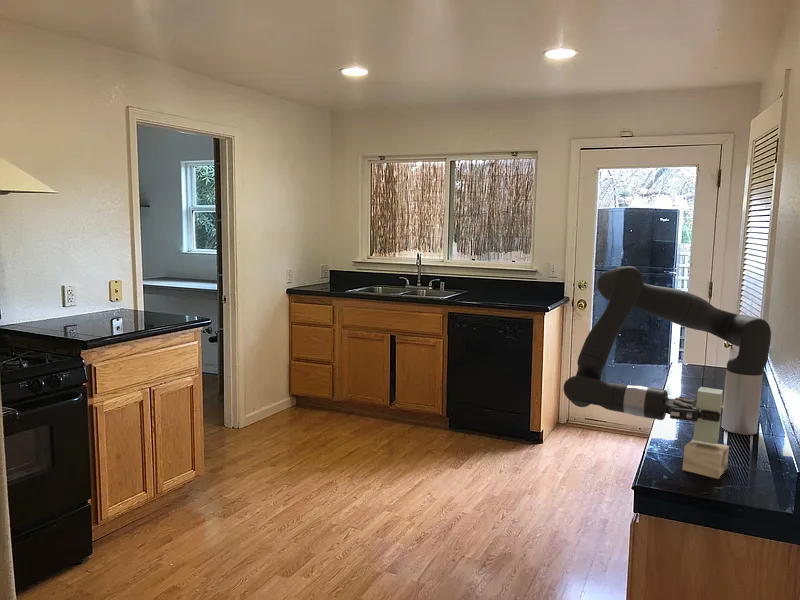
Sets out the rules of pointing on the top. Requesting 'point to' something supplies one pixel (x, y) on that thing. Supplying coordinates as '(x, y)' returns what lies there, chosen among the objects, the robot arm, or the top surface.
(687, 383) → the top surface
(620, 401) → the robot arm
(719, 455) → the birch base block
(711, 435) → the sage block
